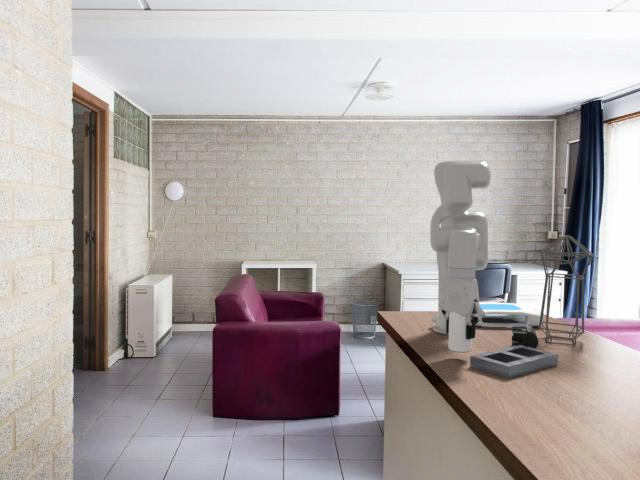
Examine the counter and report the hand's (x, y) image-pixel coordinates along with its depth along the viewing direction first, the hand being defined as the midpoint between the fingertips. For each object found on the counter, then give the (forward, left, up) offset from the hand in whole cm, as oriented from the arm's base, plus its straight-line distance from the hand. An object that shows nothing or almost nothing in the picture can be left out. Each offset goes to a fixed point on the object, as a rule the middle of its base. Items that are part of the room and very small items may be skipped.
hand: (460, 335), depth 146 cm
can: (0, 0, -4) cm, 4 cm away
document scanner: (-27, +53, -7) cm, 60 cm away
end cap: (+4, +25, -7) cm, 27 cm away
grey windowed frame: (+13, +7, -7) cm, 16 cm away
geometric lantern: (+5, +45, -7) cm, 46 cm away
